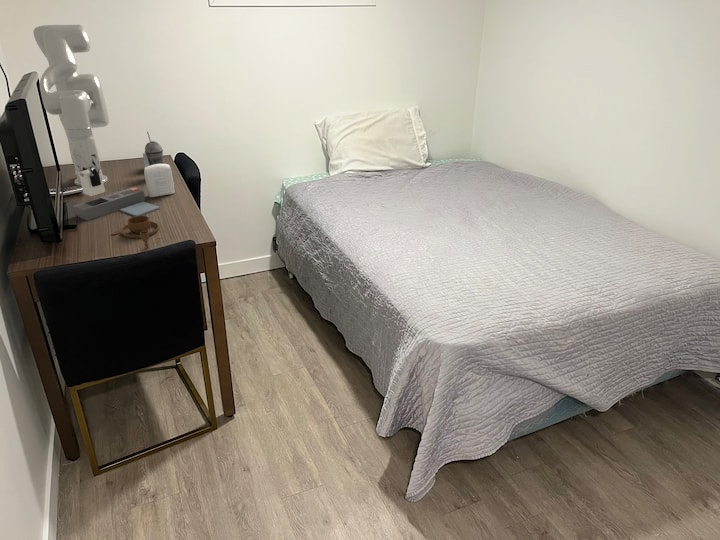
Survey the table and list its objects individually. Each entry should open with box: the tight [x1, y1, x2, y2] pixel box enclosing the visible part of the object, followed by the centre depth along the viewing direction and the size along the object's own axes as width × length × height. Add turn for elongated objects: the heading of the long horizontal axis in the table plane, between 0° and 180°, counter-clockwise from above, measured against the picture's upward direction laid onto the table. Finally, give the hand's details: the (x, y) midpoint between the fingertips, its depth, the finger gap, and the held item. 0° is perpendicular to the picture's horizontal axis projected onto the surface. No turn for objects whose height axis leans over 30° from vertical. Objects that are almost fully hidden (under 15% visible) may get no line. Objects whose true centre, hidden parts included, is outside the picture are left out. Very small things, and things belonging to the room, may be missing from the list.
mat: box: [119, 201, 161, 217], centre depth 191 cm, size 10×10×1 cm
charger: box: [78, 168, 106, 197], centre depth 183 cm, size 4×6×8 cm
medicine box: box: [142, 151, 149, 168], centre depth 232 cm, size 8×4×9 cm, turn 179°
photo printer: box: [143, 163, 176, 198], centre depth 202 cm, size 10×4×12 cm, turn 123°
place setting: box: [111, 215, 162, 250], centre depth 169 cm, size 18×20×6 cm
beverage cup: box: [144, 131, 164, 166], centre depth 219 cm, size 7×7×20 cm
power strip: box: [72, 186, 146, 221], centre depth 191 cm, size 7×24×4 cm, turn 146°
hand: (92, 183), depth 183 cm, fingers closed on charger, 4 cm apart
